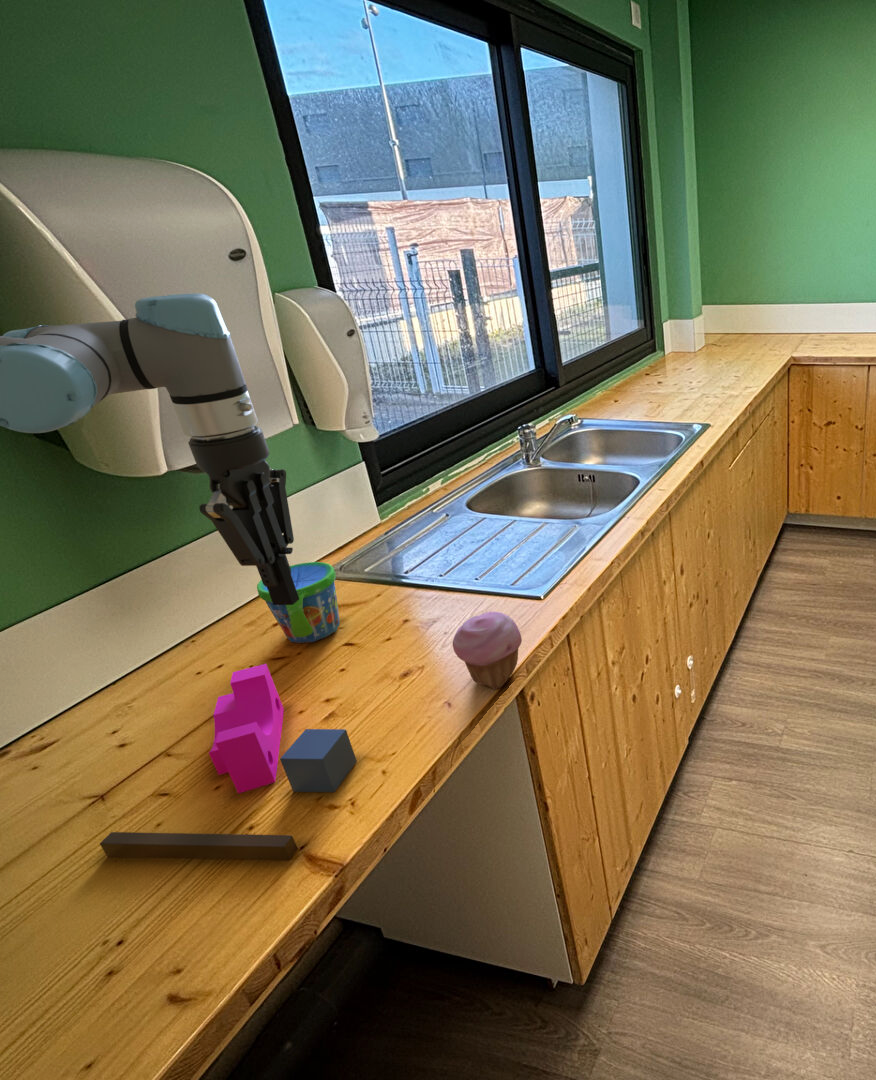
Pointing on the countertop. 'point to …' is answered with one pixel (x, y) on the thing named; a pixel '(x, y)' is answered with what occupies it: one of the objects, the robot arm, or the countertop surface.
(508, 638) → the cupcake
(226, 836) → the straightedge
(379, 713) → the countertop surface
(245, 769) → the toy block
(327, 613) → the snack cup
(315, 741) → the cube
